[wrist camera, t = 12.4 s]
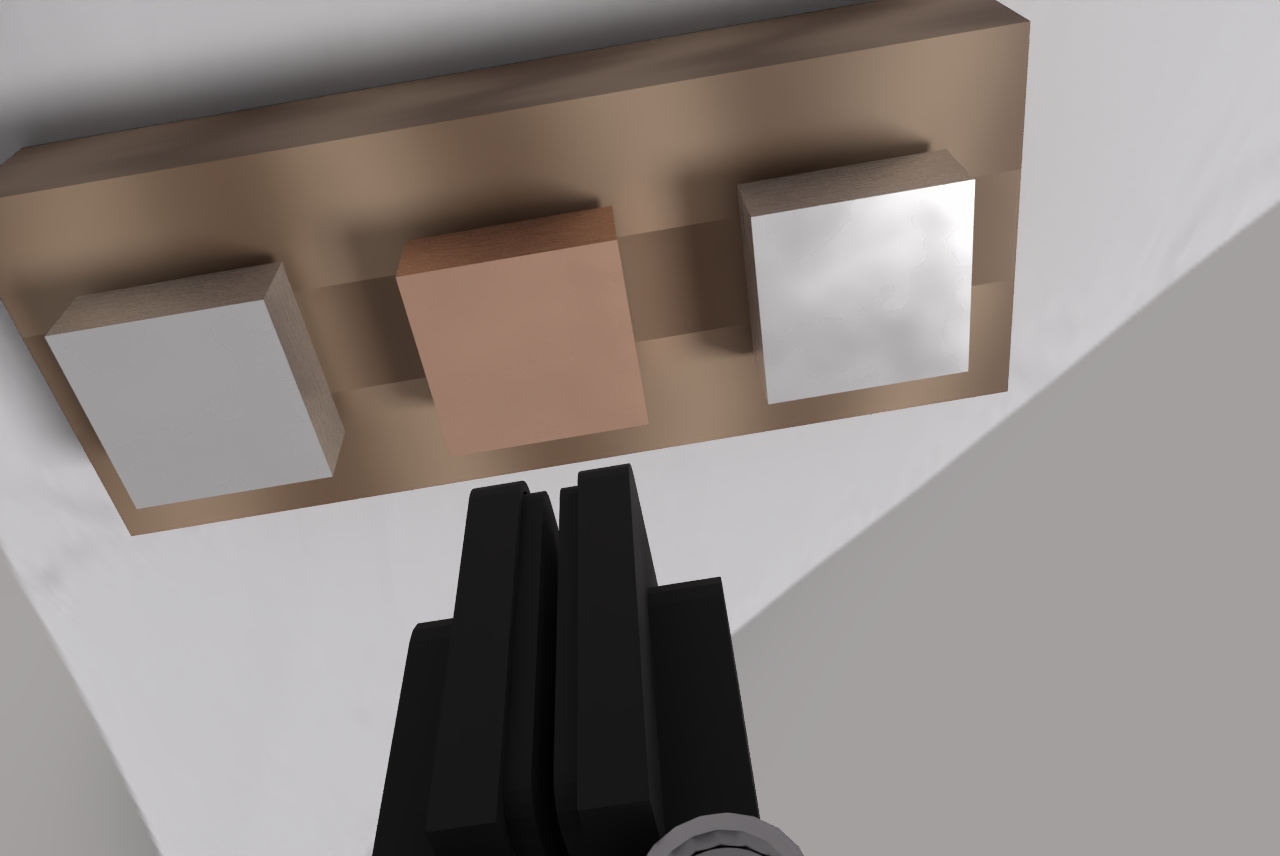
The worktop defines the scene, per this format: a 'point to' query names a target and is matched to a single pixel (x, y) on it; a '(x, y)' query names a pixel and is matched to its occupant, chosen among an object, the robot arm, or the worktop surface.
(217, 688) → the worktop surface
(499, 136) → the button panel
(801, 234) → the button
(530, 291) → the middle button
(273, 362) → the button
